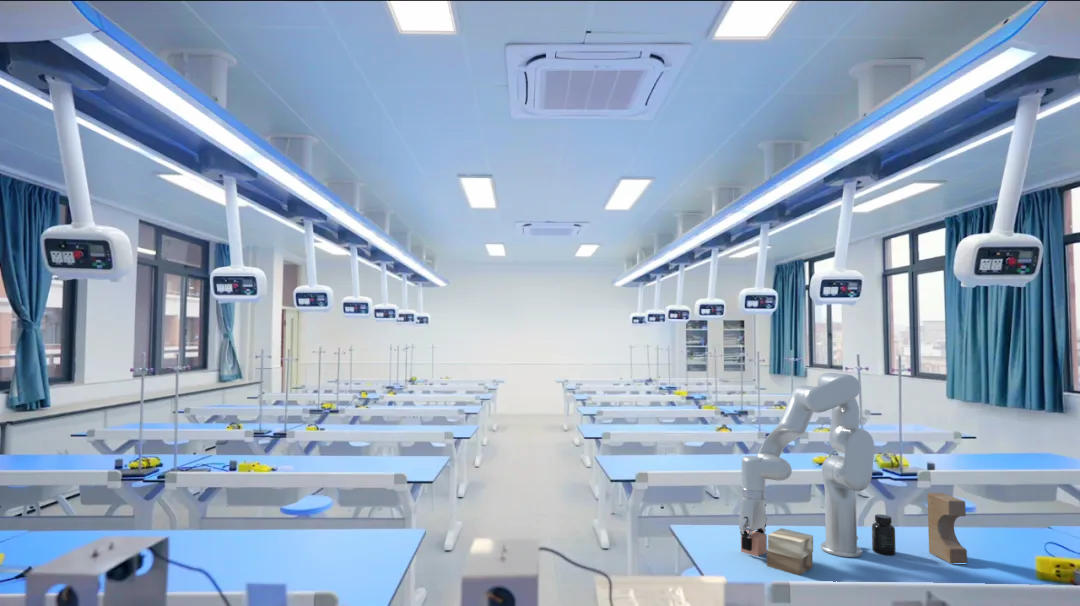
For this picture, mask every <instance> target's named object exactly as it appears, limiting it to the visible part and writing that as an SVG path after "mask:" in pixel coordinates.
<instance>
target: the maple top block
mask: <svg viewBox="0 0 1080 606" xmlns="http://www.w3.org/2000/svg"><path fill="white" fill-rule="evenodd" d="M767 551H770V552H774V553H777V554H781V555H785V556H789V557H793V558H796V559H800V560H801V559H802V558H804V557H806V556H807V555H809V554H811V553H812V554H813V553H814V535H812V534H808V533H803V532H800V531H795V530H791V529H786V528H779V529H777V530H775V531H773V532H771V533H769V534H767Z"/></svg>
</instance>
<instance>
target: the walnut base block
mask: <svg viewBox="0 0 1080 606" xmlns="http://www.w3.org/2000/svg"><path fill="white" fill-rule="evenodd" d="M813 565H814V564H813V552H812V553H811V554H809V555H807V556H806V557H804V558H802V559H801V560H800V559H796V558H793V557H789V556H785V555H781V554H777V553H774V552H770V551H768V550H767V553H766V567H767V568H772V569H775V570H779V571H782V572H786V573H789V574H792V575H796V576H801V575H803V574H804V573H806V572H808V571H809V570H811V569H813V567H814V566H813Z"/></svg>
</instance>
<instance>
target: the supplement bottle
mask: <svg viewBox="0 0 1080 606" xmlns="http://www.w3.org/2000/svg"><path fill="white" fill-rule="evenodd" d="M874 521H875V522H873V523H872V525H871V547H872V551H873V553H875V554H877V555H882V556H888V557H889V556H890V557H891V556H895V555H896V553H897V552H896V551H897V550H896V549H897V548H896V528H895V526H894V525H893V524H892V523H893V522H892V516H890V515H886V514H881V513H880V514H879V513H877V514H875V515H874Z"/></svg>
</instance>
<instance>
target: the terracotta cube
mask: <svg viewBox="0 0 1080 606" xmlns="http://www.w3.org/2000/svg"><path fill="white" fill-rule="evenodd" d="M746 531H747V530H746ZM755 531H756V530H755ZM755 531H752V534H751V537H750V538H752V550H751V551H748V550H745V549H742V537H741V536H740V552H741V553H744V554H748V555H752V556H755V557H760V556H762V555H764V554H767V551H768V534H767V533H765V534H763V533H759V532H755ZM747 533H749V531H747Z"/></svg>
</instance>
